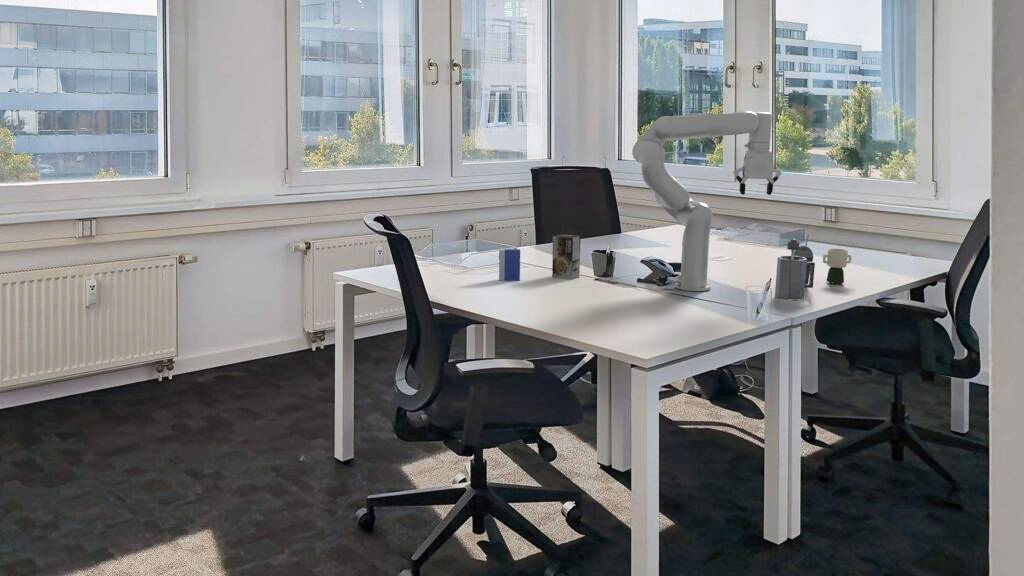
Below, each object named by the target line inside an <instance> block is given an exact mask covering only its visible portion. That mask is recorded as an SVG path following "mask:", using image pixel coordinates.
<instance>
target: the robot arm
mask: <svg viewBox="0 0 1024 576" xmlns="http://www.w3.org/2000/svg"><path fill="white" fill-rule="evenodd" d="M772 118H773V115H772V113H770V112H769V111H768V112H766V111H763V112H762V111H755V112H753V111H746V110H745V111H744V110H741V111H740V110H739V111H738V110H737V111H733V112H731V113H708V112H704V113H703V112H702V113H694V114H693V113H692V114H685V115H684V114H683V115H673V116H671V115H663V116H659V118H657V119H656V120H655V121H653V123H652V124H651V125H650V126H649V127H648V129H646V131H645V132H644V133H642V135H641V136H640V137H639V138H638V139H637V141H636V142H635V143H634V145H633V146H632V149H631V150H632V156H633V157H632V158H633V159H634V161H636V162H637V163H640V164H641V175H642V179H643V181H644V183H645V184H646V186H647V187H648V188H649V189H650V190H651V191H652V192H653V193H654V197H655V201H656V203H658V205H659V206H660V207H661V208H662V209H663V210H664V211H666V212H667V213H668V214H669V215H670V216H671V217H672V218H673V219H675V220H676V221H677V222H678V223H680V224H681V225H684V226H685V227H684V230H683V235H682V240H681V241H682V243H681V266H680V274H678V276H676V277H673V276H667V283H672V284H675V288H676V289H678V290H681V291H686V292H687V291H688V292H707V291H711V289H712V285H710V284H709V283H708V267H709V252H710V250H709V248H710V236H711V230H712V225H713V222H714V221H713V219H714V217H713V216H714V215H713V210H712V209H711V208H710V206H709V205H707V204H706V203H704V202H701V201H698V200H697V201H696V200H693V199H692V198H691V195H690V192H689V190H688V189H687V187H685V186H684V185H683V184H682V183H681V182H679V181H678V179H676V178H675V177H674V176H673V175H672V174H671V173H670V172H669V171H668V169H666V166H665V159H666V157H665V156H666V151H665V148H664V145H665V143H667V142H668V141H673V142H674V141H681V140H682V141H683V140H691V139H692V140H693V139H703V138H704V139H706V138H714V137H724V136H736V135H745V134H746V135H747V134H748V142H747V143H744V146H743V147H744V148H747V150H746V151H745V155H744V159H743V164H742V166H741V167H739V168H737V169H734V170H733V171H732V172H733V175H734V178H735V179H736V180H737V181H738V183H739V193H740V194H741V195H742V196H743V195H744V196H745V195H746V194H745V193H746V183H745V182H747V180H748V179H753V180H763V179H764V180H766V181H768V183H767V184H766V195H768V196H772V193H773V191H774V190H773V188H774V184H775V183H776V182H777V181H778V180H779V178H780V177H781V174H782V171H781V170H779V169H777V168H775V167H774V160H773V159H774V156H773V151H772V150H770V148H771V137H772V136H771V133H772V121H773V119H772ZM741 172H742V174H741V175H742V176H740V174H739V173H741ZM774 173H775V175H773V174H774Z"/></svg>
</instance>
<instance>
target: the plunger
mask: <svg viewBox="0 0 1024 576" xmlns="http://www.w3.org/2000/svg"><path fill="white" fill-rule="evenodd" d="M799 247H800V241H797V239H796V238H792V239H790V240H789V241H787V246H786V249H787V250H791V252H790V254H791V255H790V256H791V260H794V252H795V250H799Z"/></svg>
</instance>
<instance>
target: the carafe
mask: <svg viewBox="0 0 1024 576" xmlns="http://www.w3.org/2000/svg"><path fill="white" fill-rule="evenodd" d="M776 261H777V262H776V274H775V287H774V289H775V291H774V297H776V298H777V297H778V298H777V299H781V298H783V299H782V300H787V299H800V300H802V298H803V299H805V291H806V289H809V288H810V289H812V288H813V287H814V278H815V266H816V264H815V263H816V262H815V261H812V262H807V259H806V258H804V257H799V256H794V260H791V255H780V256H777V259H776ZM807 265H811V267H810V275H809V281H808V284H805V281H806V268H807ZM805 288H806V289H805Z"/></svg>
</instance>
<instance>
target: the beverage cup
mask: <svg viewBox="0 0 1024 576" xmlns="http://www.w3.org/2000/svg"><path fill="white" fill-rule="evenodd" d="M809 236H810V235H809V234H807V235H806V240H805V245H799V250H794V256H799V257H804V258H806V259H807V262H814V253H813V250H812V249H811V248H810V247H809V246H808V240H809ZM810 267H811V265H807V268H806V281H805V284H809V279H810Z"/></svg>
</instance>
